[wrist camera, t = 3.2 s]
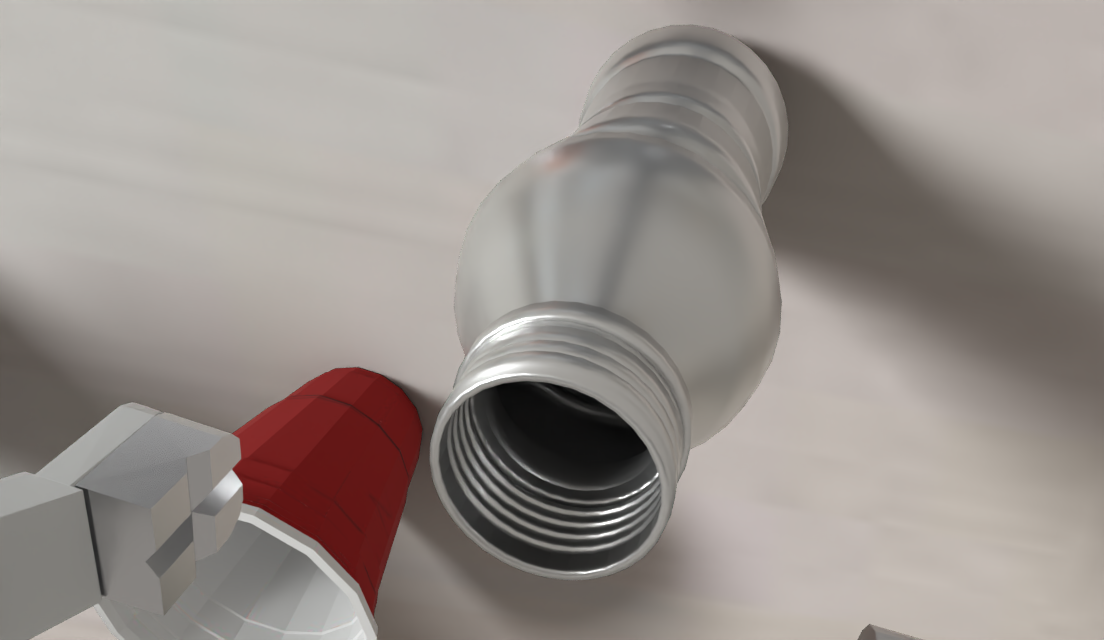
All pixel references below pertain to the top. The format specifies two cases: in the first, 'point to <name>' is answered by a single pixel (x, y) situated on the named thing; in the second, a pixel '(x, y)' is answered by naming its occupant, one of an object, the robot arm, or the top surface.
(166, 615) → the plastic cup
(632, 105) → the plastic bottle
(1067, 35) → the top surface
